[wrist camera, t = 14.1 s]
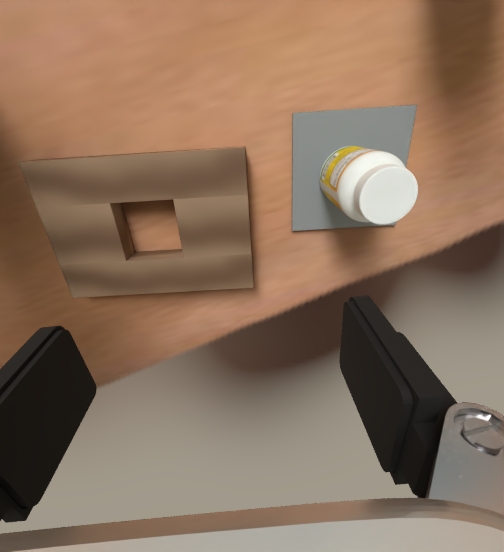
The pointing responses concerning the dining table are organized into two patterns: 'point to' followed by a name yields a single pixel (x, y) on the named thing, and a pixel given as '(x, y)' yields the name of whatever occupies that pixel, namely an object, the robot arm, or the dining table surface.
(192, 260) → the brown board with hole
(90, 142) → the dining table surface
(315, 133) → the rubber mat
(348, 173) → the supplement bottle
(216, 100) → the dining table surface
